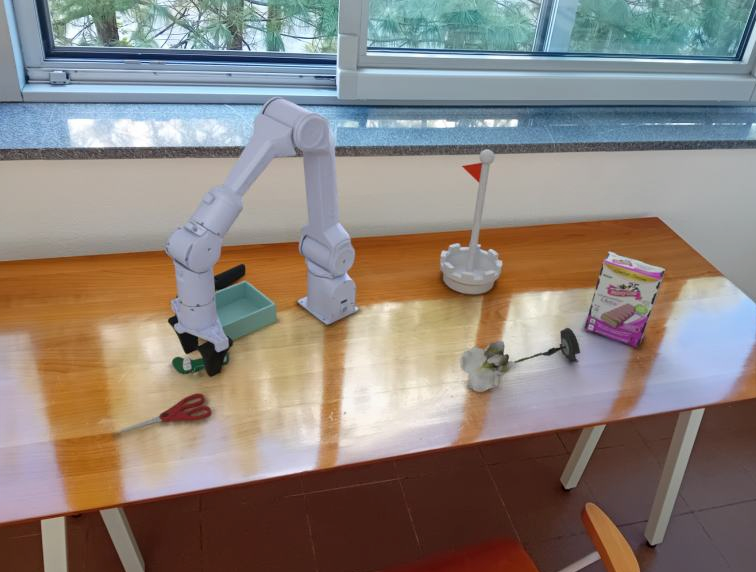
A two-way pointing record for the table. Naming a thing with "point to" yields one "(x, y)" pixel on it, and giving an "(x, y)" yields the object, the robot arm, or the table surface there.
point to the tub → (243, 309)
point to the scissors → (179, 412)
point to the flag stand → (472, 245)
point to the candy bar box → (624, 299)
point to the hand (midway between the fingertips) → (202, 362)
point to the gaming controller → (192, 364)
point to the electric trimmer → (228, 277)
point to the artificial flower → (506, 361)
